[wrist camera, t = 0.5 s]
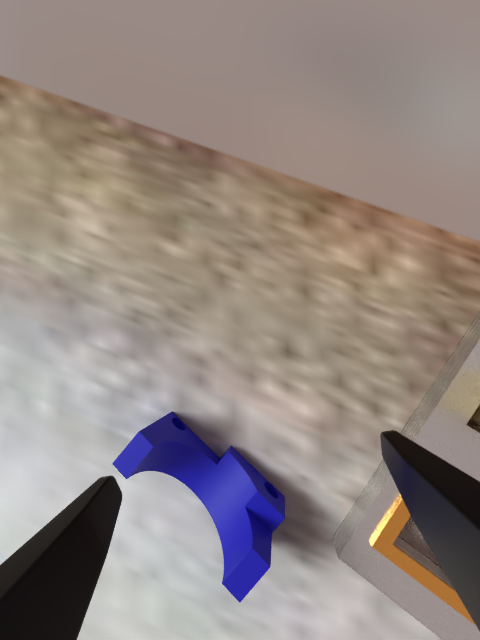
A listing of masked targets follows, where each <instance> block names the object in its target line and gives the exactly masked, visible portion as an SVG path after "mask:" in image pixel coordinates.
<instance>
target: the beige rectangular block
mask: <svg viewBox="0 0 480 640" xmlns="http://www.w3.org/2000/svg"><path fill="white" fill-rule="evenodd" d="M470 420H471V421H473V422H475V423H476V424H478V425H480V404H479V406H478V407H477V409H476V410H475V412H474V414H473V415H472V417H471V418H470Z"/></svg>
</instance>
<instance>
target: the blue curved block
mask: <svg viewBox="0 0 480 640" xmlns="http://www.w3.org/2000/svg"><path fill="white" fill-rule="evenodd" d="M113 465H114V466H115V467H116V468H117V469H118V471H119V472H120V473H121V474H122V475H123V476H124V477H125V478H126V479H128V478H129V477H130V476H132V475H134V474H136V473H139V472H143V471H158V472H162V473H166V474H168V475H171V476H173V477H175V478H176V479H178V480H180V481H181V482H183V483H184V484H185V485H186V486H188V487H189V488H190V489H191V490H192V491H193V492H194V493H195V494H196V495H197V496H198V498H199V499H200V500H201V501H202V503H203V504H204V505H205V507H206V508H207V510H208V512H209V513H210V515H211V517H212V519H213V521H214V523H215V525H216V528H217V530H218V533H219V536H220V540H221V544H222V548H223V555H224V576H223V581H222V584H223V585H224V586H225V587H226V588H227V589H228V590H229V592H230V593H231V594H232V595H233V596H234V597H235V598H236V599H237V600H238V601H239V602H241V601H242V600H243V598H244V597H245V596H246V595H247V594H248V593H249V591H250V590H251V589H252V588H253V587H254V586H255V584H256V583H257V582H258V581H259V580H260V579H261V577H262V576H263V575H264V574H265V573H266V571H267V570H268V569H269V568H270V564H271V543H272V533H273V532H274V530H275V529H276V528H277V527H278V526H279V525H280V523H281V522H282V521H283V520H284V519H285V499H284V496H283V495H282V494H281V493H280V492H279V491H278V490H277V489H276V488H275V487H274V486H273V485H272V484H271V483H270V482H269V481H268V480H267V479H265V478H264V477H263V476H262V475H261V474H260V473H259V472H258V471H257V470H256V469H255V468H254V467H253V466H252V465H251V464H250V463H249V462H248V461H247V460H246V459H245V458H244V457H242V456H241V455H240V454H239V453H238V452H237V451H236V450H235V449H234V448H233V447H232V446H230V448H229V449H228V450H227V451H226V452H225V454H224V455H223V456H222V457H221V458H219V457H218V456H217V455H216V454H215V453H214V452H213V451H212V450H211V449H210V448H209V447H208V446H207V445H206V444H205V443H204V442H203V441H202V440H201V439H200V438H199V437H198V436H197V435H196V434H195V433H194V432H193V431H192V430H191V429H190V428H189V427H188V426H186V425H185V424H184V423H183V422H182V421H181V420H180V419H179V418H178V417H177V416H176V415H175V414H174V413H173V412H171V413H169V414H167V415H166V416H164V417H162V418H161V419H159V420H157V421H156V422H154V423H152V424H151V425H149V426H147V427H146V428H144V429H142V430H141V431H139V432H138V433H137V434H136V436H135V437H134V438H133V439H132V441H131V442H130V443H129V444H128V445H127V447H126V448H125V449H124V450H123V451H122V453H121V454H120V455H119V456H118V457H117V459H116V460H115V461H114V462H113Z"/></svg>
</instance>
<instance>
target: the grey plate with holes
mask: <svg viewBox="0 0 480 640" xmlns="http://www.w3.org/2000/svg"><path fill="white" fill-rule="evenodd" d="M479 404H480V312H479V313H478V315H477V317H476V318H475V320H474V321H473V323H472V324H471V326H470V327H469V329H468V330H467V332H466V334H465V335H464V337H463V338H462V340H461V341H460V343H459V344H458V346H457V347H456V349H455V350H454V352H453V354H452V355H451V357H450V358H449V360H448V361H447V363H446V364H445V366H444V367H443V369H442V370H441V372H440V374H439V375H438V377H437V378H436V380H435V381H434V383H433V384H432V386H431V387H430V389H429V390H428V392H427V394H426V395H425V397H424V398H423V400H422V401H421V403H420V404H419V406H418V407H417V409H416V411H415V412H414V414H413V415H412V417H411V418H410V420H409V421H408V423H407V424H406V426H405V427H404V429H403V431H402V432H401V434H402V435H404V436H405V437H407V438H408V439H410V440H412V441H413V442H415V443H417V444H418V445H420V446H422V447H423V448H425V449H427V450H428V451H430V452H432V453H433V454H435V455H437V456H438V457H440V458H442V459H443V460H445V461H447V462H448V463H450V464H452V465H453V466H455V467H457V468H458V469H460V470H462V471H463V472H465V473H467V474H468V475H470V476H472V477H473V478H475V479H476V480H478V481H480V433H479V432H477V431H475V430H474V429H472V428H471V427H469V426H467V425H466V424H467V423H468V421H469V420H470V418H471V417H472V415H473V414H474V412H475V410H476V409H477V407H478V406H479ZM410 516H411V515H410V513H409V511H408V509H407V507H406V505H405V503H404V501H403V499H402V497H401V495H400V493H399V491H398V488H397V486H396V484H395V482H394V480H393V478H392V476H391V474H390V472H389V470H388V467H387V465H386V463H385V461H384V460H383V461H382V463H381V464H380V466H379V467H378V469H377V471H376V472H375V474H374V475H373V477H372V478H371V480H370V481H369V483H368V484H367V486H366V488H365V489H364V491H363V492H362V494H361V495H360V497H359V498H358V500H357V501H356V503H355V504H354V506H353V508H352V509H351V511H350V512H349V514H348V515H347V517H346V518H345V520H344V521H343V523H342V524H341V526H340V528H339V529H338V531H337V532H336V534H335V535H334V537H333V541H334V545H335V549H336V552H337V556H338V558H339V559H340V560H342V561H343V562H344V563H346V564H347V565H348V566H349V567H351V568H352V569H353V570H354V571H356V572H357V573H358V574H360V575H361V576H362V577H363V578H365V579H366V580H367V581H368V582H370V583H371V584H372V585H374V586H375V587H376V588H377V589H379V590H380V591H381V592H382V593H384V594H385V595H386V596H388V597H389V598H390V599H391V600H393V601H394V602H395V603H396V604H398V605H399V606H400V607H402V608H403V609H404V610H405V611H407V612H408V613H409V614H410V615H412V616H413V617H414V618H416V619H417V620H418V621H419V622H421V623H422V624H423V625H424V626H426V627H427V628H428V629H430V630H431V631H432V632H433V633H435V634H436V635H437V636H438V637H440V638H441V639H442V640H480V631H479V630H478V628H477V626H476V625H475V623H474V621H473V620H472V618H471V616H470V615H469V613H468V611H467V610H466V608H465V606H464V604H463V603H462V601H461V599H460V598H459V596H458V594H457V593H456V591H455V589H454V588H453V586H452V584H451V583H450V581H449V579H448V578H447V576H446V574H445V573H444V571H443V569H442V568H440V567H439V566H438V565H436V564H435V563H434V562H432V561H431V560H430V559H428V558H427V557H425V556H424V555H423V554H421V553H420V552H419V551H417V550H416V549H415V548H413V547H412V546H410V545H409V544H408V543H406V542H405V541H404V540H402V539H401V538H400V537H398V535H399V533H400V532H401V530H402V529H403V527H404V526H405V524H406V523H407V521H408V520H409V518H410Z"/></svg>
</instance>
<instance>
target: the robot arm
mask: <svg viewBox="0 0 480 640" xmlns="http://www.w3.org/2000/svg"><path fill="white" fill-rule="evenodd" d="M380 437H381V448H382V455H383V459H384V461H385V463H386V465H387V467H388V470H389V472H390V474H391V476H392V478H393V480H394V482H395V484H396V486H397V488H398V491H399V493H400V495H401V497H402V499H403V501H404V503H405V505H406V507H407V509H408V511H409V513H410V515H411V517H412V519H413V520H414V522H415V524H416V526H417V527H418V529H419V531H420V532H421V534H422V536H423V537H424V539H425V541H426V542H427V544H428V546H429V547H430V549H431V551H432V552H433V554H434V556H435V557H436V559H437V561H438V563H439V564H440V566H441V568H442V569H443V571H444V573H445V574H446V576H447V578H448V579H449V581H450V583H451V584H452V586H453V588H454V589H455V591H456V593H457V594H458V596H459V598H460V599H461V601H462V603H463V604H464V606H465V608H466V610H467V611H468V613H469V615H470V616H471V618H472V620H473V621H474V623H475V625H476V626H477V628H478V630H479V631H480V481H478V480H476V479H475V478H473V477H472V476H470V475H468V474H467V473H465V472H463V471H462V470H460V469H458V468H457V467H455V466H453V465H452V464H450V463H448V462H447V461H445V460H443V459H442V458H440V457H438V456H437V455H435V454H433V453H432V452H430V451H428V450H427V449H425V448H423V447H422V446H420V445H418V444H417V443H415V442H413V441H412V440H410V439H408V438H407V437H405V436H404V435H402V434H400V433H399V432H397V431H394V430H391V431H385V432H382V433H381V435H380ZM121 502H122V492H121V490H120V488H119V486H118V484H117V481H116V479H115V478H114V477H113V476H105V477H101V478H99V479H98V480H97V481H96V482H95V483H93V484H92V485H91V486H90V487H89V488H88V489H87V490H85V491H84V492H83V493H82V494H81V495H80V496H79V497H77V498H76V499H75V500H74V501H73V502H72V503H71V504H69V505H68V506H67V507H66V508H65V509H64V510H63V511H61V512H60V513H59V514H58V515H57V516H56V517H55V518H54V519H52V520H51V521H50V522H49V523H48V524H47V525H46V526H44V527H43V528H42V529H41V530H40V531H39V532H38V533H36V534H35V535H34V536H33V537H32V538H31V539H30V540H28V541H27V542H26V543H25V544H24V545H23V546H22V547H20V548H19V549H18V550H17V551H16V552H15V553H14V554H12V555H11V556H10V557H9V558H8V559H7V560H6V561H4V562H3V563H2V564H1V565H0V640H77V637H78V634H79V632H80V629H81V626H82V623H83V620H84V618H85V615H86V612H87V609H88V607H89V604H90V601H91V598H92V595H93V593H94V590H95V587H96V584H97V581H98V579H99V576H100V573H101V570H102V567H103V565H104V562H105V559H106V556H107V553H108V549H109V546H110V542H111V539H112V535H113V531H114V528H115V524H116V520H117V517H118V513H119V509H120V505H121Z"/></svg>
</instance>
